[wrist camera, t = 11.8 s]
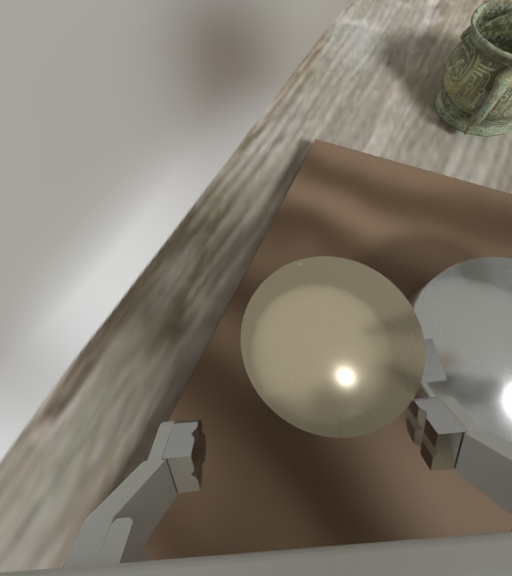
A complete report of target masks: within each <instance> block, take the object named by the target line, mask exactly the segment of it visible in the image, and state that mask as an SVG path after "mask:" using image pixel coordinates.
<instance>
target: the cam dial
mask: <svg viewBox="0 0 512 576" xmlns="http://www.w3.org/2000/svg"><path fill="white" fill-rule="evenodd" d="M240 338H241V352H242V359H243V362H244V366H245V369H246V372H247V374H248V377H249V379H250V381H251V383H252V385H253V386H254V388H255V390H256V391H257V393H258V394H259V396H260V397H261V398H262V400H263V401H264V402H265V403H266V404H267V405H268V406H269V407H270V408H271V409H272V410H273V411H274V412H275V413H276V414H277V415H279V416H280V417H281V418H283V419H284V420H285V421H287V422H288V423H290V424H292V425H294V426H295V427H297V428H299V429H302V430H304V431H307V432H309V433H312V434H316V435H320V436H324V437H334V438H349V437H356V436H361V435H366V434H369V433H371V432H374V431H377V430H379V429H381V428H383V427H384V426H386V425H388V424H390V423H391V422H392V421H393V420H395V419H396V418H397V417H399V416H400V415H401V413H402V412H403V411H404V410H405V409H406V408H407V407H408V406H409V404H410V403H411V401H412V400H413V399H420V398H430V397H441V396H452V397H454V398H455V399H456V400H457V401H458V402H459V404H460V405H461V406H462V407H463V408H464V409H465V410H466V411H467V412H468V414H469V415H470V416H471V417H472V418H473V419H474V420H475V421H476V422H477V423H478V425H479V426H480V427H481V428H482V429H483V430H484V431H490V432H492V433H494V434H496V435H498V436H499V437H501V438H503V439H505V440H507V441H509V442H511V443H512V258H505V257H482V258H475V259H470V260H466V261H463V262H460V263H457V264H455V265H453V266H451V267H449V268H447V269H446V270H444V271H443V272H441V273H440V274H438V275H437V276H436V277H435V278H433V279H432V280H431V281H429V282H428V283H427V284H426V285H424V286H423V287H422V288H420V289H419V290H418V291H416V292H415V293H414V294H413V295H412V296H411V297H410V298H409V299H406V297H405V296H404V295H403V293H402V292H401V291H400V290H399V289H398V288H397V287H396V286H395V285H394V284H393V283H392V282H391V281H390V280H388V279H387V278H386V277H385V276H383V275H382V274H380V273H379V272H377V271H376V270H374V269H372V268H370V267H368V266H366V265H364V264H361V263H359V262H356V261H353V260H349V259H346V258H339V257H329V256H320V257H311V258H305V259H301V260H298V261H295V262H292V263H290V264H288V265H285V266H283V267H282V268H280V269H278V270H277V271H275V272H274V273H273V274H271V275H270V276H269V277H268V278H266V279H265V281H264V282H263V283H262V284H261V285H260V286H259V287H258V288H257V290H256V291H255V293H254V294H253V296H252V297H251V299H250V301H249V303H248V305H247V308H246V310H245V313H244V317H243V321H242V326H241V335H240Z"/></svg>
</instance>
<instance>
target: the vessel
mask: <svg viewBox="0 0 512 576" xmlns="http://www.w3.org/2000/svg"><path fill="white" fill-rule="evenodd" d="M461 40H462V41H461V42H460V44H459V45H458V46H457V47H456V49H455V50H454V51H453V52H452V54H451V55H450V57H449V58H448V60H447V62H446V64H445V68H444V73H443V81H442V82H443V85H444V87H443V88H442V89H441V90H440V91H439V92H438V93H437V96H436V100H435V106H436V109H437V112H438V114H439V115H440V116H441V118H442V119H443V120H444V121H445V122H446V123H447V124H448V125H450V126H451V127H453V128H455V129H457V130H459V131H461V132H464V134H471V135H477V136H495V135H502V134H505V133H508V132H510V131H512V0H489V1H486V2H485V3H483V4H482V5H481V6H479V7H478V8H477V9H476V10H475V11H474V13H473V15H472V17H471V26H470V27H468V28H467V29H466V30H465V31H464V32H463V34H462V35H461Z"/></svg>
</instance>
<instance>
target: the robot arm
mask: <svg viewBox="0 0 512 576" xmlns="http://www.w3.org/2000/svg"><path fill="white" fill-rule="evenodd" d="M408 408H409V410H410V411H411V412H410V413H409V414H408V415H407V416H406V426H407V430H408V433H409V435H410V437H411V439H412V441H413V442H414V443H415V444H417V445H418V446H420V447H421V450H420V454H421V456H422V457H423V459H424V461H425V462H426V464H427V466H428V467H429V469H430V470H431V471H433V470H450V469H455V471H456V472H457V473H459V474H460V475H461V476H462V477H464V478H465V479H466V480H467V481H469V482H470V483H471V484H472V485H474V486H475V487H476V488H477V489H479V490H480V491H481V492H482V493H484V494H485V495H486V496H487V497H489V498H490V499H491V500H493V501H494V502H495V503H496V504H498V505H499V506H500V507H501V508H503V509H504V510H505V511H506V512H508V513H509V514H510V515H511V516H512V443H511V442H509V441H507V440H505V439H503V438H501V437H499V436H498V435H496V434H494V433H492V432H490V431H484V430H483V429H482V428H481V427H480V426H479V425H478V423H477V422H476V421H475V420H474V419H473V418H472V417H471V416H470V415H469V414H468V412H467V411H466V410H465V409H464V408H463V407H462V406H461V405H460V404H459V402H458V401H457V400H456V399H455V398H454V397H452V396H441V397H430V398H420V399H413V400H412V401H411V403H410V404H409V406H408ZM202 427H203V425H202V422H201V420H200V419H195V420H180V421H168V422H162V423H161V424H160V426H159V429H158V431H157V434H156V437H155V440H154V443H153V446H152V448H151V451H150V454H149V457H148V460H147V461H143V462H142V463H141V464H140V465H139V466H138V467H137V468H136V469H135V470H134V471H133V472H132V473H131V474H130V475H129V476H128V477H127V478H126V479H125V480H124V481H123V482H122V483H121V484H120V485H119V486H118V487H117V488H116V489H115V490H114V491H113V492H112V493H111V494H110V495H109V496H108V497H107V498H106V499H105V500H104V501H103V502H102V503H101V504H100V505H99V506H98V507H97V508H96V509H95V510H94V511H93V512H92V513H91V514H90V515H89V516H88V517H87V518H86V519H85V521H84V523H83V525H82V527H81V529H80V532H79V534H78V536H77V538H76V540H75V542H74V544H73V546H72V548H71V551H70V553H69V555H68V557H67V559H66V561H65V563H64V565H63V567H62V568H54V569H41V570H29V571H17V572H4V573H0V576H512V526H511V528H510V531H508V532H496V533H484V534H472V535H459V536H447V537H435V538H423V539H410V540H398V541H386V542H373V543H361V544H348V545H336V546H323V547H311V548H299V549H287V550H275V551H262V552H250V553H238V554H226V555H213V556H201V557H189V558H177V559H164V560H152V561H150V558H149V556H148V554H147V552H146V549H145V547H144V543H145V542H146V540H147V539H148V537H149V536H150V534H151V533H152V532H153V530H154V529H155V527H156V526H157V524H158V523H159V521H160V520H161V518H162V517H163V515H164V514H165V512H166V511H167V509H168V508H169V507H170V505H171V504H172V502H173V501H174V499H175V498H176V496H177V493H184V492H192V491H200V490H201V483H202V477H203V469H202V464H203V463H204V461H205V457H206V438H205V434H204V433H203V432H202Z"/></svg>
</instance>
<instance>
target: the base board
mask: <svg viewBox="0 0 512 576" xmlns="http://www.w3.org/2000/svg"><path fill="white" fill-rule="evenodd" d="M320 256H329V257H339V258H346V259H349V260H353V261H356V262H359V263H361V264H364V265H366V266H368V267H370V268H372V269H374V270H376V271H377V272H379V273H380V274H382V275H383V276H385V277H386V278H387V279H388V280H390V281H391V282H392V283H393V284H394V285H395V286H396V287H397V288H398V289H399V290H400V291H401V292H402V293H403V295H404V296H405V297H406V299H409V298H410V297H411V296H412V295H413V294H414V293H415V292H416V291H418V290H419V289H420V288H422V287H423V286H424V285H426V284H427V283H428V282H429V281H431V280H432V279H433V278H435V277H436V276H437V275H438V274H440V273H441V272H443V271H444V270H446V269H447V268H449V267H451V266H453V265H455V264H457V263H460V262H463V261H466V260H470V259H475V258H482V257H505V258H512V194H509V193H505V192H502V191H498V190H494V189H491V188H487V187H484V186H480V185H477V184H473V183H470V182H466V181H462V180H459V179H455V178H452V177H448V176H445V175H441V174H438V173H434V172H430V171H427V170H423V169H420V168H416V167H413V166H409V165H406V164H402V163H398V162H395V161H391V160H388V159H384V158H381V157H377V156H374V155H370V154H366V153H363V152H359V151H356V150H352V149H349V148H345V147H342V146H338V145H334V144H331V143H327V142H324V141H320V140H317V139H315V141H314V143H313V145H312V147H311V149H310V151H309V153H308V155H307V157H306V159H305V160H304V162H303V164H302V166H301V168H300V170H299V172H298V174H297V176H296V178H295V180H294V181H293V183H292V185H291V187H290V189H289V191H288V193H287V195H286V197H285V199H284V200H283V202H282V204H281V206H280V208H279V210H278V212H277V214H276V216H275V218H274V220H273V221H272V223H271V225H270V227H269V229H268V231H267V233H266V235H265V237H264V239H263V241H262V242H261V244H260V246H259V248H258V250H257V252H256V254H255V256H254V258H253V260H252V261H251V263H250V265H249V267H248V269H247V271H246V273H245V275H244V277H243V279H242V281H241V282H240V284H239V286H238V288H237V290H236V292H235V294H234V296H233V298H232V300H231V302H230V303H229V305H228V307H227V309H226V311H225V313H224V315H223V317H222V319H221V321H220V322H219V324H218V326H217V328H216V330H215V332H214V334H213V336H212V338H211V340H210V342H209V343H208V345H207V347H206V349H205V351H204V353H203V355H202V357H201V359H200V361H199V363H198V364H197V366H196V368H195V370H194V372H193V374H192V376H191V378H190V380H189V382H188V383H187V385H186V387H185V389H184V391H183V393H182V395H181V397H180V399H179V401H178V403H177V404H176V406H175V408H174V410H173V412H172V414H171V416H170V418H169V420H168V421H180V420H195V419H200V420H201V422H202V425H203V427H202V432H203V433H204V434H205V438H206V457H205V461H204V463H203V464H202V469H203V477H202V483H201V490H200V491H192V492H184V493H177V496H176V498H175V499H174V501H173V502H172V504H171V505H170V507H169V508H168V509H167V511H166V512H165V514H164V515H163V517H162V518H161V520H160V521H159V523H158V524H157V526H156V527H155V529H154V530H153V532H152V533H151V534H150V536H149V537H148V539H147V540H146V542H145V543H144V547H145V549H146V552H147V554H148V556H149V558H150V561H152V560H164V559H177V558H189V557H201V556H213V555H226V554H238V553H250V552H262V551H275V550H287V549H299V548H311V547H323V546H336V545H348V544H361V543H373V542H386V541H398V540H410V539H423V538H435V537H447V536H459V535H472V534H484V533H496V532H508V531H510V528H511V526H512V516H511V515H510V514H509V513H508V512H506V511H505V510H504V509H503V508H501V507H500V506H499V505H498V504H496V503H495V502H494V501H493V500H491V499H490V498H489V497H487V496H486V495H485V494H484V493H482V492H481V491H480V490H479V489H477V488H476V487H475V486H474V485H472V484H471V483H470V482H469V481H467V480H466V479H465V478H464V477H462V476H461V475H460V474H459V473H457V472H456V471H455V469H450V470H433V471H431V470H430V469H429V467H428V466H427V464H426V462H425V461H424V459H423V457H422V456H421V454H420V450H421V447H420V446H418V445H417V444H415V443H414V442H413V441H412V439H411V437H410V435H409V433H408V430H407V426H406V416H407V415H408V414H409V413H410V412H411V411H410V410H409V408H408V407H407V408H406V409H405V410H404V411H403V412H402V413H401V415H400V416H399V417H397V418H396V419H395V420H393V421H392V422H391V423H390V424H388V425H386V426H384V427H383V428H381V429H379V430H377V431H374V432H371V433H369V434H366V435H361V436H356V437H349V438H334V437H324V436H320V435H316V434H312V433H309V432H307V431H304V430H302V429H299V428H297V427H295V426H294V425H292V424H290V423H288V422H287V421H285V420H284V419H283V418H281V417H280V416H279V415H277V414H276V413H275V412H274V411H273V410H272V409H271V408H270V407H269V406H268V405H267V404H266V403H265V402H264V401H263V400H262V398H261V397H260V396H259V394H258V393H257V391H256V390H255V388H254V386H253V385H252V383H251V381H250V379H249V377H248V374H247V372H246V369H245V366H244V362H243V359H242V352H241V338H240V335H241V326H242V321H243V317H244V313H245V310H246V308H247V305H248V303H249V301H250V299H251V297H252V296H253V294H254V293H255V291H256V290H257V288H258V287H259V286H260V285H261V284H262V283H263V282H264V281H265V279H266V278H268V277H269V276H270V275H271V274H273V273H274V272H275V271H277V270H278V269H280V268H282V267H283V266H285V265H288V264H290V263H292V262H295V261H298V260H301V259H305V258H311V257H320Z"/></svg>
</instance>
